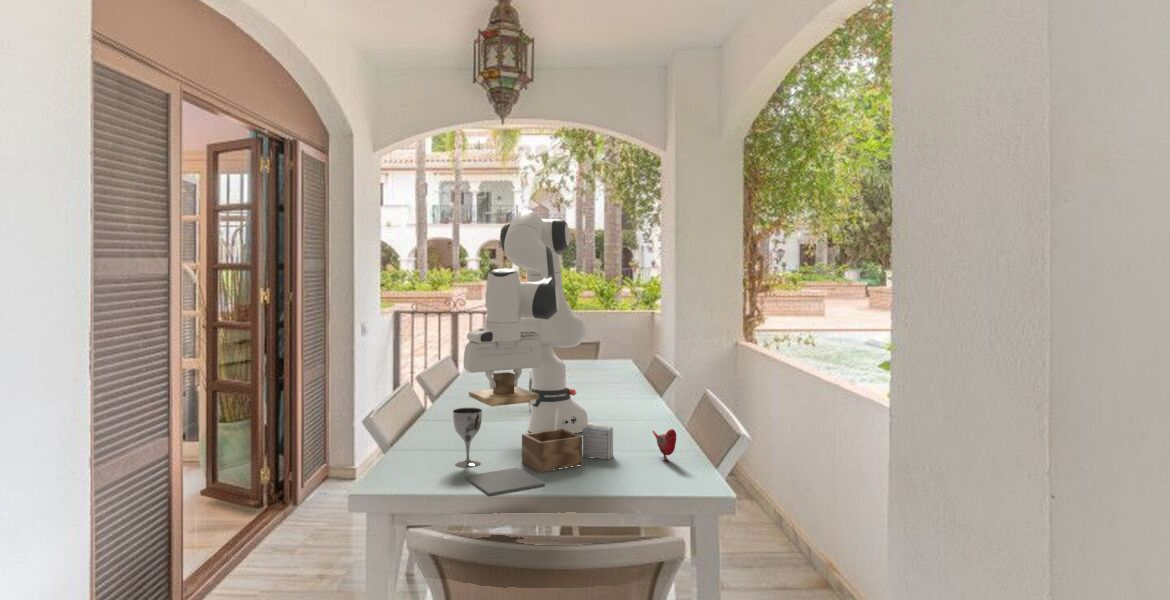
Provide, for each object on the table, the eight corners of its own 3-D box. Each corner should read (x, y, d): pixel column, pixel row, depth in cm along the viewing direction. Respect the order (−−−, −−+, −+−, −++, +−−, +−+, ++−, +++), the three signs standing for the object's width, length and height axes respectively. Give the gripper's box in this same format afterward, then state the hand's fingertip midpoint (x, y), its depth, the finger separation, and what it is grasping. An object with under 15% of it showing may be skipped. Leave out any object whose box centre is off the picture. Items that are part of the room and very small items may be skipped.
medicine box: (613, 456, 208) (613, 426, 207) (608, 460, 204) (608, 430, 203) (587, 454, 210) (587, 424, 210) (582, 457, 206) (582, 428, 206)
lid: (518, 395, 191) (518, 368, 190) (539, 402, 181) (539, 374, 180) (468, 400, 184) (468, 372, 183) (487, 408, 173) (487, 378, 173)
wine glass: (469, 469, 194) (468, 414, 193) (447, 465, 198) (446, 411, 197) (488, 462, 201) (487, 409, 200) (466, 458, 205) (466, 406, 204)
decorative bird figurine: (670, 467, 196) (670, 431, 196) (647, 451, 213) (648, 417, 213) (680, 467, 197) (680, 430, 196) (657, 450, 214) (657, 417, 213)
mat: (517, 469, 194) (517, 467, 194) (544, 485, 180) (544, 483, 180) (464, 478, 186) (464, 475, 186) (488, 495, 173) (488, 493, 173)
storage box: (562, 456, 207) (562, 429, 207) (582, 465, 198) (582, 437, 197) (522, 462, 201) (522, 434, 200) (539, 472, 191) (539, 443, 191)
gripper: (534, 330, 189) (534, 382, 190) (461, 334, 179) (461, 389, 180) (545, 332, 184) (545, 386, 185) (470, 336, 174) (470, 393, 174)
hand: (503, 387), depth 182 cm, fingers closed on lid, 4 cm apart
